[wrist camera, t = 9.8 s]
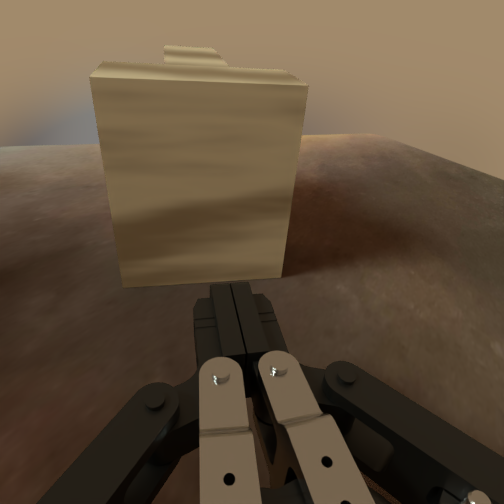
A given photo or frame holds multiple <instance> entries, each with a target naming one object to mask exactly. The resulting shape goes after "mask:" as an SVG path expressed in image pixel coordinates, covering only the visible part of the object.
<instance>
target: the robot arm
mask: <svg viewBox="0 0 504 504" xmlns="http://www.w3.org/2000/svg"><path fill="white" fill-rule="evenodd" d="M193 314H194V340H195V351H196V361H197V371H196V372H195V374H194V375H193V376H192V377H191V378H190V379H189V380H187V381H186V382H184V383H182V384H180V385H177V386H175V387H172V386H170V385H169V384H166V383H159V382H158V383H151V384H148V385H146V386H144V387H142V388H141V389H140V390H138V391H137V392H136V394H135V395H134V396H133V397H132V398H131V399H130V400H129V401H128V402H127V404H126V405H125V406H124V407H123V408H122V409H121V410H120V411H119V412H118V414H117V415H116V416H115V417H114V418H113V419H112V420H111V421H110V422H109V423H108V425H107V426H106V427H105V428H104V429H103V430H102V431H101V432H100V433H99V435H98V436H97V437H96V438H95V439H94V440H93V441H92V442H91V443H90V445H89V446H88V447H87V448H86V449H85V450H84V451H83V452H82V453H81V455H80V456H79V457H78V458H77V459H76V460H75V461H74V462H73V463H72V465H71V466H70V467H69V468H68V469H67V470H66V471H65V472H64V473H63V475H62V476H61V477H60V478H59V479H58V480H57V481H56V482H55V483H54V485H53V486H52V487H51V488H50V489H49V490H48V491H47V492H46V493H45V495H44V496H43V497H42V498H41V499H40V500H39V501H38V502H37V503H36V504H151V503H152V501H153V500H154V498H155V497H156V495H157V494H158V492H159V491H160V489H161V488H162V486H163V485H164V483H165V482H166V480H167V479H168V477H169V476H170V474H171V473H172V471H173V470H174V468H175V467H176V465H177V464H178V462H179V460H180V458H181V456H183V455H185V454H187V453H189V452H191V451H193V450H194V449H196V448H198V447H200V504H391V503H390V502H389V501H387V500H386V499H385V498H384V497H383V496H381V495H380V494H379V493H377V492H376V491H374V490H373V489H371V488H370V487H368V486H366V483H365V481H364V479H363V477H362V475H361V473H360V471H361V472H362V473H364V474H365V475H366V476H368V477H369V478H370V479H371V480H373V481H374V482H375V483H377V484H378V485H379V486H380V487H382V488H383V489H384V490H386V491H387V492H388V493H389V494H391V495H392V496H393V497H395V498H396V499H397V500H398V501H400V502H401V503H402V504H504V458H503V457H502V456H500V455H499V454H497V453H495V452H494V451H492V450H491V449H489V448H487V447H486V446H484V445H483V444H481V443H479V442H478V441H476V440H475V439H473V438H471V437H470V436H468V435H467V434H465V433H463V432H462V431H460V430H458V429H457V428H455V427H454V426H452V425H450V424H449V423H447V422H446V421H444V420H442V419H441V418H439V417H438V416H436V415H434V414H433V413H431V412H430V411H428V410H426V409H425V408H423V407H422V406H420V405H418V404H417V403H415V402H414V401H412V400H410V399H409V398H407V397H405V396H404V395H402V394H401V393H399V392H397V391H396V390H394V389H393V388H391V387H389V386H388V385H386V384H385V383H383V382H381V381H380V380H378V379H377V378H375V377H373V376H372V375H370V374H369V373H367V372H365V371H364V370H362V369H361V368H359V367H357V366H356V365H354V364H352V363H349V362H345V361H337V362H333V363H331V364H330V365H328V367H327V368H326V370H324V369H318V368H312V367H307V366H304V365H302V364H300V363H298V361H297V360H296V359H295V358H294V357H293V356H292V355H290V354H289V352H288V350H287V347H286V344H285V341H284V338H283V336H282V333H281V330H280V327H279V324H278V322H277V319H276V316H275V314H274V310H273V307H272V305H271V302H270V301H269V300H268V299H267V298H266V297H265V296H264V295H263V294H252V291H251V288H250V284H249V282H237V283H230V284H229V283H225V284H211V285H210V298H201V299H198V300H197V302H196V304H195V306H194V308H193ZM249 397H251V398H252V402H253V406H254V407H253V420H254V424H255V427H256V430H257V434H258V437H259V440H260V444H261V447H262V450H263V454H264V457H265V460H266V464H267V467H268V471H269V476H270V487H271V489H270V488H260V486H259V478H258V471H257V463H256V455H255V447H254V440H253V434H252V430H251V429H250V428H249V423H248V415H247V407H246V399H245V398H249ZM359 470H360V471H359Z"/></svg>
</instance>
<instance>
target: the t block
mask: <svg viewBox="0 0 504 504" xmlns="http://www.w3.org/2000/svg"><path fill="white" fill-rule="evenodd" d="M164 61H165V62H164V64H148V63H127V62H105V61H103V62H102V63H101V64H100V65H99V66H98V68H97V69H96V70H95V71H94V72H93V73H92V74H91V75H90V77H89V78H90V85H91V91H92V97H93V104H94V110H95V116H96V123H97V128H98V135H99V141H100V148H101V154H102V160H103V167H104V173H105V179H106V185H107V192H108V198H109V204H110V211H111V217H112V223H113V229H114V236H115V242H116V248H117V255H118V261H119V267H120V273H121V280H122V286H123V288H132V287H147V286H162V285H177V284H193V283H208V282H223V281H238V280H254V279H269V278H281V275H282V268H283V261H284V254H285V247H286V240H287V233H288V226H289V219H290V212H291V205H292V198H293V191H294V184H295V177H296V170H297V163H298V156H299V150H300V143H301V136H302V128H303V121H304V115H305V108H306V100H307V94H308V87H309V86H308V85H307V84H305V83H304V82H302V81H301V80H299V79H297V78H296V77H294V76H293V75H291V74H289V73H288V72H287V71H285V70H272V69H253V68H231V67H229V65H228V64H226V62H225V61H224V60H223V59H222V58H221V56H220V55H219V54H218V53H217V52H216V51H215V50H214V49H213V48H201V47H183V46H182V47H181V46H165V45H164Z"/></svg>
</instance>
